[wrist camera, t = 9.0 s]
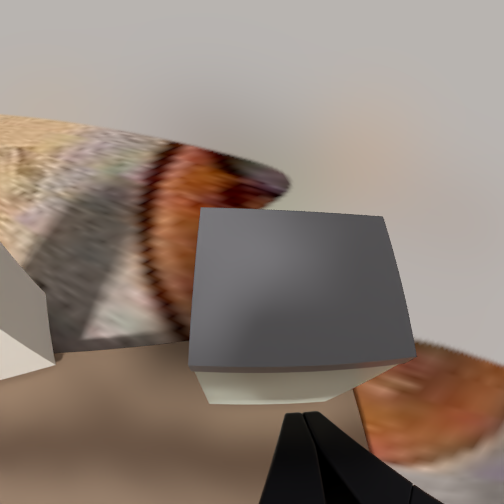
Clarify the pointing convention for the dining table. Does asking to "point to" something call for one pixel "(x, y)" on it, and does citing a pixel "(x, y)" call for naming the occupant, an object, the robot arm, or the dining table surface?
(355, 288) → the pale green cabinet
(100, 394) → the tan wooden board
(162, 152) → the dining table surface
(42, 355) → the white toy cabinet
